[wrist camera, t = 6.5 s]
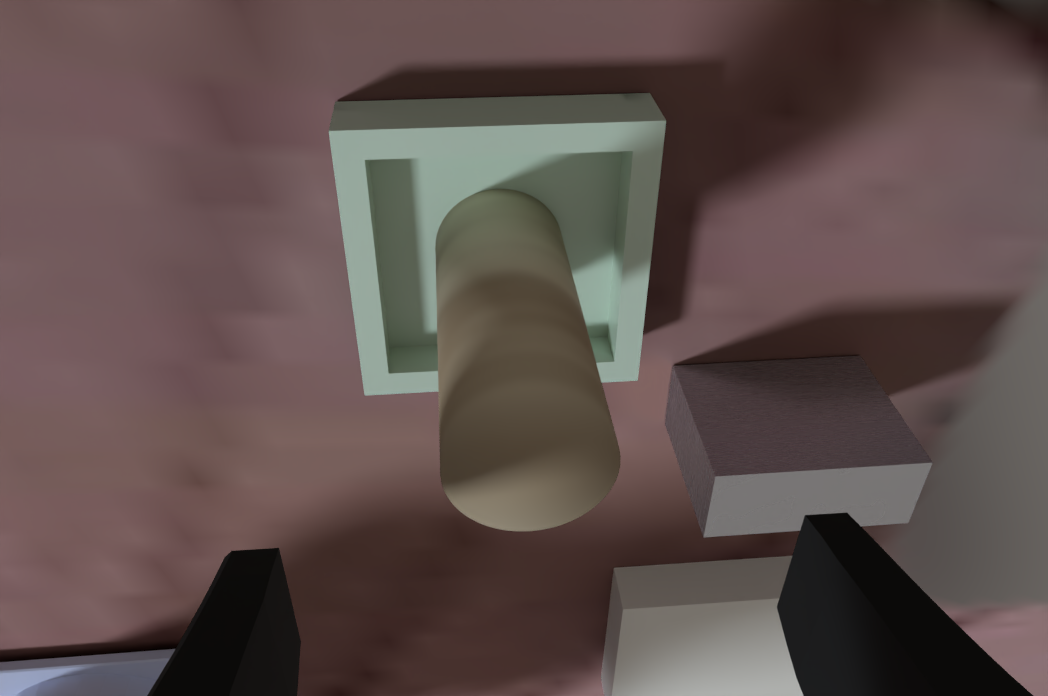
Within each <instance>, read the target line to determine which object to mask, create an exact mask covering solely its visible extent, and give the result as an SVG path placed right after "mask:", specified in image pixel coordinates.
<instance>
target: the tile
mask: <svg viewBox="0 0 1048 696" xmlns="http://www.w3.org/2000/svg"><path fill="white" fill-rule="evenodd" d="M791 559H792V556H781V557H766V558H751V559H737V560H722V561H707V562H692V563H677V564H663V565H648V566H633V567H618V568H614V571H613V579H612V588H611V596H610V605H609V614H608V622H607V631H606V639H605V648H604V656H603V665H602V673H601V681H602V686H603V691H604V696H803V693H802V691H801V688H800V686H799V683H798V681H797V678H796V675H795V671H794V668H793V664H792V661H791V658H790V654H789V651H788V647H787V644H786V640H785V636H784V633H783V629H782V625H781V621H780V617H779V614H778V610H777V604H778V601H779V598H780V595H781V591H782V588H783V585H784V582H785V578H786V575H787V572H788V569H789V565H790V562H791Z"/></svg>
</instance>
